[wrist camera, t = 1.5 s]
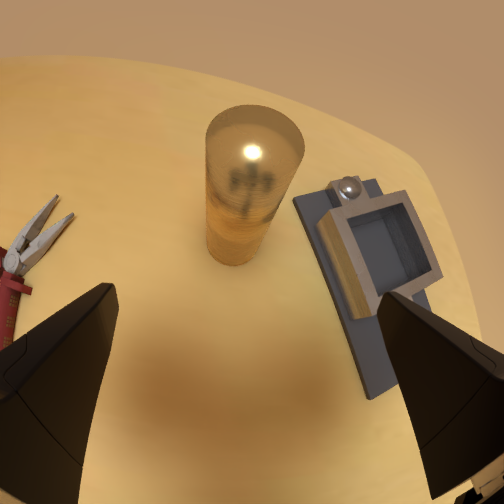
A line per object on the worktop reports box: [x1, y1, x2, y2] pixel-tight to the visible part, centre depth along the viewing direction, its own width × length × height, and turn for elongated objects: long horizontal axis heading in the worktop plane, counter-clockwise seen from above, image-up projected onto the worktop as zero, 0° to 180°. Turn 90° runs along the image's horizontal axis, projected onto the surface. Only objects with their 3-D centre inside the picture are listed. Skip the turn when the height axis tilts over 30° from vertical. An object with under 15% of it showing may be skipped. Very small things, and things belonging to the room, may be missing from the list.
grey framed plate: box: [314, 176, 443, 320], centre depth 21 cm, size 17×8×4 cm, turn 20°
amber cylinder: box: [206, 105, 305, 266], centre depth 17 cm, size 4×4×12 cm
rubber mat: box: [292, 179, 432, 400], centre depth 23 cm, size 18×9×1 cm, turn 20°
